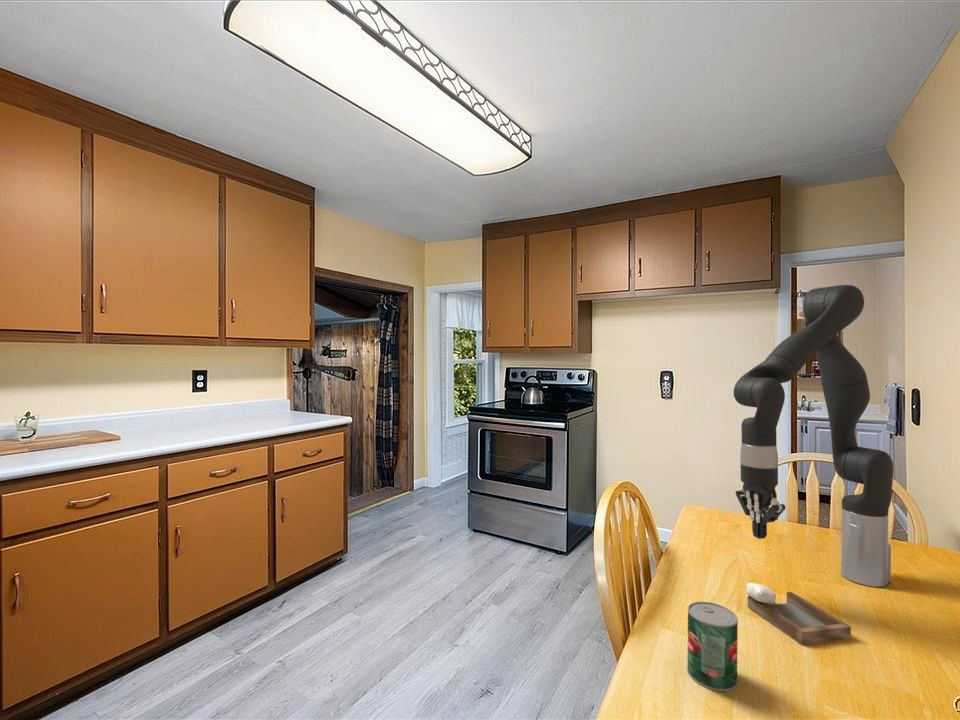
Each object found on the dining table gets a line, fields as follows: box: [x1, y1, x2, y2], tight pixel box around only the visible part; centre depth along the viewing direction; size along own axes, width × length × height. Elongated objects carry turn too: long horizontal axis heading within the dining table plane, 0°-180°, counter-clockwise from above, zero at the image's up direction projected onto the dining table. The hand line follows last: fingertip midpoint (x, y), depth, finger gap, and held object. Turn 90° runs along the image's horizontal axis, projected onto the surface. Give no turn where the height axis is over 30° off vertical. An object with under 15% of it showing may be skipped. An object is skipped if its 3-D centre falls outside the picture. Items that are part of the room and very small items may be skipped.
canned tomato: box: [686, 601, 739, 692], centre depth 83 cm, size 8×8×11 cm
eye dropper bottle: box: [745, 582, 777, 605], centre depth 104 cm, size 4×6×12 cm
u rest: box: [747, 591, 852, 646], centre depth 100 cm, size 11×14×2 cm
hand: (759, 537), depth 110 cm, fingers closed
